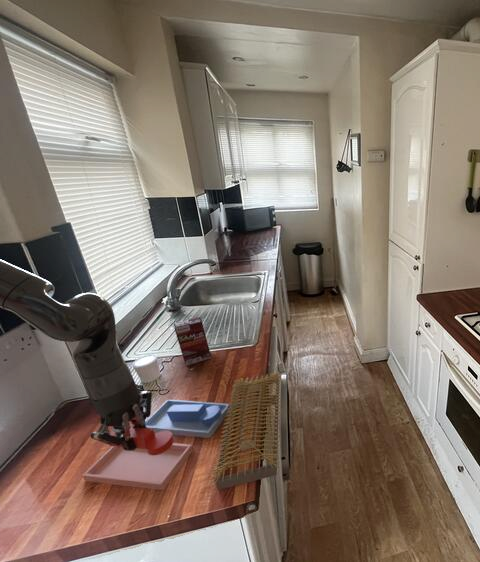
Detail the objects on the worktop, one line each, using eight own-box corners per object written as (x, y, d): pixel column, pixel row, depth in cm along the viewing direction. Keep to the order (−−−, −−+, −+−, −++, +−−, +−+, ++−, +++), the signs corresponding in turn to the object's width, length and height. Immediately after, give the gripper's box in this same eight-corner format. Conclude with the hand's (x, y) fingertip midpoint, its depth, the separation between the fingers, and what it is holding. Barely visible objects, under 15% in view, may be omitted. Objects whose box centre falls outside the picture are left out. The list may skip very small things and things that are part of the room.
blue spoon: (167, 424, 85) (162, 415, 84) (180, 410, 90) (176, 401, 89) (214, 424, 83) (209, 414, 82) (225, 410, 88) (221, 400, 86)
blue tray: (142, 432, 84) (139, 426, 83) (169, 404, 93) (167, 399, 92) (210, 438, 81) (208, 432, 81) (231, 409, 91) (229, 403, 90)
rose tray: (85, 481, 71) (81, 475, 71) (123, 443, 81) (120, 437, 80) (163, 490, 69) (160, 484, 68) (193, 450, 78) (191, 444, 77)
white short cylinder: (167, 372, 108) (161, 355, 105) (150, 385, 101) (143, 368, 99) (151, 369, 109) (145, 353, 106) (133, 382, 103) (126, 365, 100)
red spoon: (104, 450, 70) (99, 439, 69) (124, 432, 75) (119, 421, 73) (162, 456, 68) (157, 445, 67) (179, 436, 73) (174, 426, 72)
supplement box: (185, 366, 110) (173, 328, 104) (184, 360, 114) (173, 322, 108) (212, 358, 114) (201, 321, 108) (210, 352, 118) (200, 315, 112)
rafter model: (235, 388, 99) (232, 373, 96) (282, 379, 102) (279, 364, 100) (212, 495, 67) (206, 476, 65) (280, 477, 71) (276, 458, 68)
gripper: (123, 363, 72) (147, 418, 79) (60, 408, 59) (94, 470, 66) (152, 364, 71) (173, 420, 78) (94, 411, 58) (125, 473, 65)
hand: (137, 443), depth 72 cm, fingers closed on red spoon, 2 cm apart
